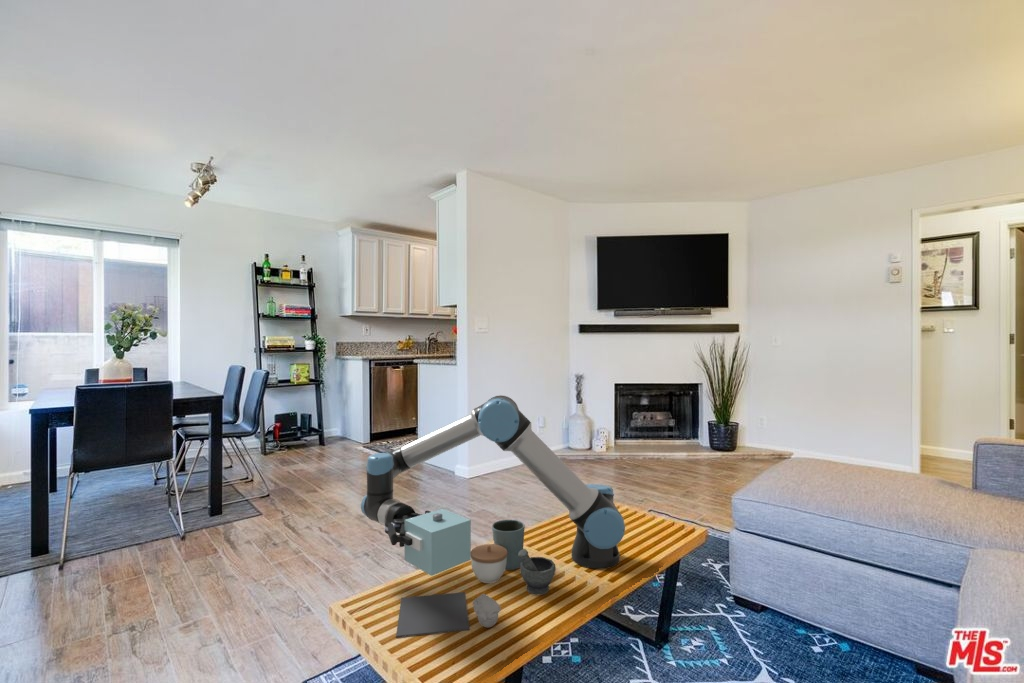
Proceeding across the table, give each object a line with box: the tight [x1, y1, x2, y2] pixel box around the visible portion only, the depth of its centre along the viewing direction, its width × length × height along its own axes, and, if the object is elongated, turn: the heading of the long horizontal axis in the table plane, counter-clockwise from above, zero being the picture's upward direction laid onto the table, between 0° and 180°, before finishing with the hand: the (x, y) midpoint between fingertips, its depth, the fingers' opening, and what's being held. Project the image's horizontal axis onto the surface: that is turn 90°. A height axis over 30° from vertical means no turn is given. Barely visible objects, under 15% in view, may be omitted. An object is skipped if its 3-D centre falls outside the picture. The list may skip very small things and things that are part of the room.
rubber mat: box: [395, 591, 470, 638], centre depth 117 cm, size 17×17×1 cm
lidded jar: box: [470, 543, 507, 584], centre depth 135 cm, size 11×11×9 cm
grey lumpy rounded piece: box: [472, 593, 502, 628], centre depth 112 cm, size 6×7×7 cm
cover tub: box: [404, 508, 472, 577], centre depth 116 cm, size 12×12×11 cm
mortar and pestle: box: [518, 548, 556, 596], centre depth 129 cm, size 11×9×12 cm
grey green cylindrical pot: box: [491, 519, 526, 571], centre depth 145 cm, size 10×10×12 cm
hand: (442, 538), depth 115 cm, fingers closed on cover tub, 12 cm apart
